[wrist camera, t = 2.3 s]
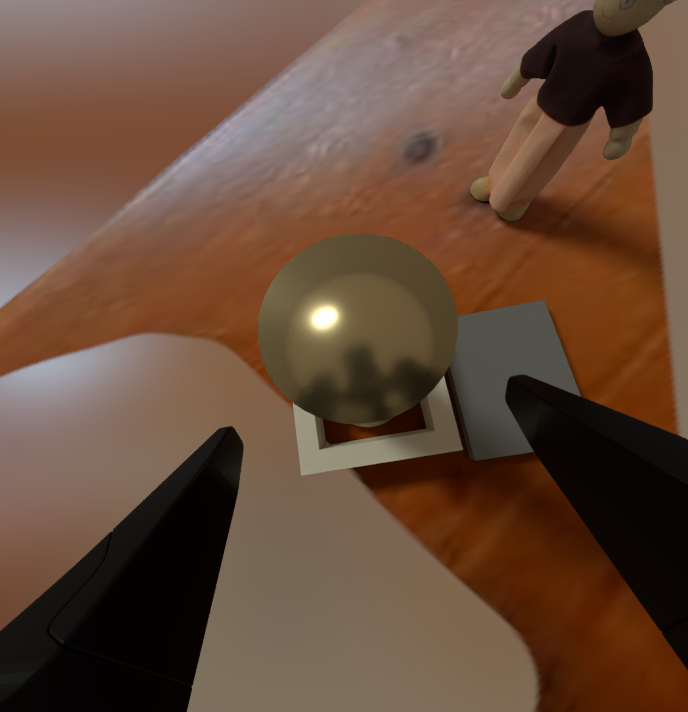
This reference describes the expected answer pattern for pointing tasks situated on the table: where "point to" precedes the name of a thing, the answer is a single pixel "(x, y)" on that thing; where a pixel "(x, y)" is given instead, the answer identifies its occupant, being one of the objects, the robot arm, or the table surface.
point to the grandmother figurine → (573, 99)
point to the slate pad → (502, 373)
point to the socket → (379, 439)
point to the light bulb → (357, 329)
